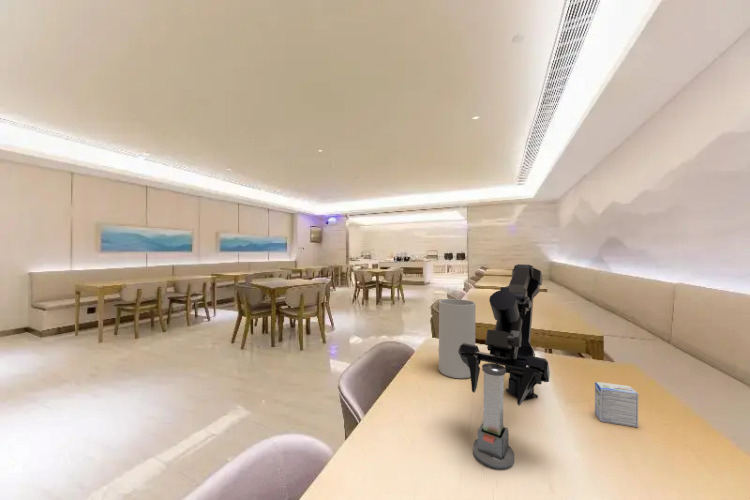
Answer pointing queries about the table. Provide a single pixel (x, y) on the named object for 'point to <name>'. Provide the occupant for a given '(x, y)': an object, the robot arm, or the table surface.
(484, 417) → the column
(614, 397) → the medicine box
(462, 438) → the table surface
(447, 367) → the cylinder vase
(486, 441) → the stand
